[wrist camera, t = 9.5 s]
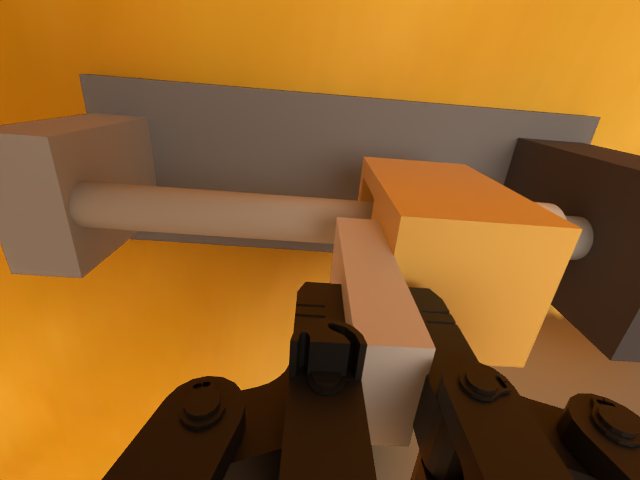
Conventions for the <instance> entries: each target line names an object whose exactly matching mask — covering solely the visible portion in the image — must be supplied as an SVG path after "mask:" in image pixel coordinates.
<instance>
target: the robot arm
mask: <svg viewBox="0 0 640 480" xmlns="http://www.w3.org/2000/svg"><path fill="white" fill-rule="evenodd" d="M413 429H414V432H415V436H416V439H417V442H418V446H419V453H418V456H417V460H416V463H415V466H414V470H413V473H412V477H411V480H640V417H639V416H638V415H636V414H635V413H634V412H632V411H631V410H629V409H628V408H626V407H624V406H623V405H620V404H618V403H616V402H614V401H612V400H610V399H608V398H605V397H601V396H598V395H594V394H577V395H575V396H573V397H571V398H570V399H569V401H568V403H567V405H566V407H565V408H564V409H561V408H558V407H555V406H551V405H548V404H544V403H541V402H538V401H535V400H531V399H528V398H525V397H522V396H520V395H519V394H518V392H517V390H516V389H515V387H514V386H513V385H512V384H511V383H510V382H509V381H508V379H507V378H506V377H505V376H503V375H501V374H500V373H499V372H498V371H496V370H495V369H493V368H491V367H489V366H487V365H484V364H482V363H480V362H479V361H478V359H477V358H476V356H475V354H474V352H473V351H472V349H471V347H470V346H469V344H468V342H467V340H466V339H465V337H464V335H463V334H462V332H461V330H460V328H459V327H458V325H456V322H455V320H454V318H453V316H452V315H451V314H450V311H449V310H448V308H447V306H446V304H445V303H444V301H443V299H442V298H440V297H439V296H438V295H437V294H436V293H434V292H433V291H432V290H431V289H429V288H416V287H408V286H407V283H406V281H405V279H404V277H403V274H402V272H401V270H400V268H399V266H398V263H397V261H396V259H395V257H394V255H393V253H392V251H391V248H390V246H389V244H388V242H387V239H386V237H385V235H384V233H383V230H382V228H381V226H380V224H379V221H378V220H371V219H357V218H343V217H337V220H336V230H335V239H334V249H333V258H332V268H331V278H330V283H315V282H305V283H304V285H303V286H302V287H301V288H300V289H299V290H298V292H297V302H296V312H295V323H294V333H293V335H292V338H291V340H290V358H289V366H288V367H287V369H286V371H285V372H284V373H283V374H282V375H281V376H280V377H278V378H277V379H275V380H274V381H272V382H270V383H268V384H265V385H262V386H259V387H255V388H251V389H246V390H242V391H241V390H240V388H239V387H238V386H237V385H236V384H235V383H234V382H232V381H230V380H228V379H226V378H223V377H214V376H206V377H201V378H196V379H192V380H190V381H188V382H186V383H184V384H182V385H180V386H178V387H177V388H176V389H175V390H174V391H173V392H172V393H171V394H170V395H169V396H168V397H166V399H165V400H164V401H163V402H162V404H161V405H160V406H159V407H158V409H157V410H156V411H155V412H154V414H153V415H152V416H151V418H150V419H149V420H148V421H147V423H146V424H145V425H144V426H143V428H142V429H141V430H140V432H139V433H138V434H137V435H136V437H135V438H134V439H133V440H132V442H131V443H130V444H129V446H128V447H127V448H126V449H125V451H124V452H123V453H122V454H121V456H120V457H119V458H118V460H117V461H116V462H115V463H114V465H113V466H112V467H111V468H110V470H109V471H108V472H107V474H106V475H105V476H104V477H103V479H102V480H377V479H376V473H375V466H374V459H373V453H372V446H371V445H388V446H409V443H410V440H411V436H412V432H413Z"/></svg>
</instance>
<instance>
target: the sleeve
mask: <svg viewBox="0 0 640 480" xmlns="http://www.w3.org/2000/svg"><path fill="white" fill-rule="evenodd" d="M358 201H370V202H374V204H373V211H372V218H371V220H378V221H379V224H380V226H381V228H382V230H383V233H384V235H385V237H386V239H387V242H388V244H389V246H390V248H391V251H392V253H393V255H394V257H395V259H396V261H397V263H398V266H399V268H400V270H401V272H402V274H403V277H404V279H405V281H406V283H407V286H408V287H416V288H429V289H431V290H432V291H433V292H434V293H436V294H437V295H438V296H439V297H440V298H442V299H443V301H444V303H445V304H446V306H447V308H448V310H449V311H450V314H451V315H452V316H453V318H454V320H455V322H456V325H458V327H459V328H460V330H461V332H462V334H463V335H464V337H465V339H466V340H467V342H468V344H469V346H470V347H471V349H472V351H473V352H474V354H475V356H476V358H477V359H478V361H479V362H480V363H482V364H484V365H488V366H506V367H507V366H508V367H524V365H525V363H526V360H527V358H528V356H529V353H530V351H531V349H532V346H533V344H534V342H535V339H536V337H537V335H538V332H539V330H540V328H541V325H542V323H543V321H544V318H545V316H546V314H547V311H548V309H549V307H550V304H551V302H552V300H553V297H554V295H555V293H556V290H557V288H558V286H559V283H560V281H561V279H562V276H563V274H564V272H565V269H566V267H567V265H568V262H569V260H570V258H571V255H572V253H573V251H574V248H575V246H576V244H577V241H578V239H579V237H580V234H581V232H582V230H583V229H582V228H580V227H578V226H576V225H575V224H573V223H571V222H569V221H567V220H565V219H564V218H562V217H560V216H558V215H556V214H555V213H553V212H551V211H549V210H547V209H545V208H544V207H542V206H540V205H538V204H536V203H535V202H533V201H531V200H529V199H527V198H525V197H524V196H522V195H520V194H518V193H516V192H514V191H513V190H511V189H509V188H507V187H505V186H504V185H502V184H500V183H498V182H496V181H494V180H493V179H491V178H489V177H487V176H485V175H483V174H482V173H480V172H478V171H476V170H474V169H473V168H471V167H469V166H467V165H465V164H455V163H442V162H429V161H416V160H403V159H390V158H377V157H363V164H362V172H361V180H360V188H359V195H358Z"/></svg>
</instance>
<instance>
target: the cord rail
mask: <svg viewBox="0 0 640 480" xmlns="http://www.w3.org/2000/svg"><path fill="white" fill-rule="evenodd" d="M79 76H80V81H81V86H82V91H83V96H84V101H85V107H86V112H87V114H82V115H75V116H67V117H60V118H52V119H45V120H37V121H30V122H22V123H15V124H7V125H0V242H1V245H2V248H3V251H4V254H5V257H6V260H7V263H8V266H9V269H10V271H11V274H24V275H40V276H56V277H73V278H83V277H84V276H85V275H86V274H87V273H89V272H90V271H91V270H92V269H93V268H95V267H96V266H97V265H98V264H99V263H101V262H102V261H103V260H104V259H106V258H107V257H108V256H109V255H110V254H112V253H113V252H114V251H115V250H116V249H118V248H119V247H120V246H121V245H122V244H124V243H125V242H126V241H127V240H128V239H139V240H154V241H170V242H185V243H200V244H215V245H230V246H246V247H261V248H276V249H291V250H306V251H322V252H333V249H334V239H335V230H336V220H337V217H343V218H357V219H371V218H372V211H373V204H374V202H370V201H358V195H359V188H360V180H361V172H362V164H363V157H377V158H390V159H403V160H416V161H429V162H442V163H455V164H465V165H467V166H469V167H471V168H473V169H474V170H476V171H478V172H480V173H482V174H483V175H485V176H487V177H489V178H491V179H493V180H494V181H496V182H498V183H500V184H502V185H504V186H505V187H507V188H509V189H511V190H513V191H514V192H516V193H518V194H520V195H522V196H524V197H525V198H527V199H529V200H531V201H533V202H535V203H536V204H538V205H540V206H542V207H544V208H545V209H547V210H549V211H551V212H553V213H555V214H556V215H558V216H560V217H562V218H564V219H565V220H567V221H569V222H571V223H573V224H575V225H576V226H578V227H580V228H582V229H583V230H582V232H581V234H580V237H579V239H578V241H577V244H576V246H575V248H574V251H573V253H572V255H571V258H570V260H569V262H568V265H567V267H566V269H565V272H564V274H563V276H562V279H561V281H560V283H559V286H558V288H557V290H556V293H555V295H554V297H553V300H552V302H551V305H552V306H553V307H554V308H555V309H557V310H558V311H559V312H560V313H561V314H562V315H563V316H564V317H565V318H566V319H567V320H568V321H569V322H570V323H571V324H572V325H573V326H575V327H576V328H577V329H578V330H579V331H580V332H581V333H582V334H583V335H584V336H585V337H586V338H587V339H588V340H589V341H591V343H593V344H594V345H595V346H596V347H597V348H598V349H599V350H600V351H601V352H602V353H603V354H604V355H605V356H606V357H607V358H609V360H612V361H632V362H640V156H639V155H634V154H630V153H625V152H621V151H617V150H612V149H608V148H603V147H599V146H594V145H590V143H591V140H592V138H593V135H594V133H595V130H596V128H597V125H598V123H599V120H600V118H601V117H593V116H583V115H571V114H559V113H547V112H535V111H523V110H511V109H499V108H488V107H476V106H464V105H452V104H440V103H428V102H416V101H404V100H392V99H380V98H368V97H356V96H344V95H332V94H320V93H308V92H296V91H284V90H272V89H260V88H248V87H236V86H224V85H212V84H200V83H189V82H177V81H165V80H153V79H141V78H129V77H117V76H105V75H93V74H79Z"/></svg>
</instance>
